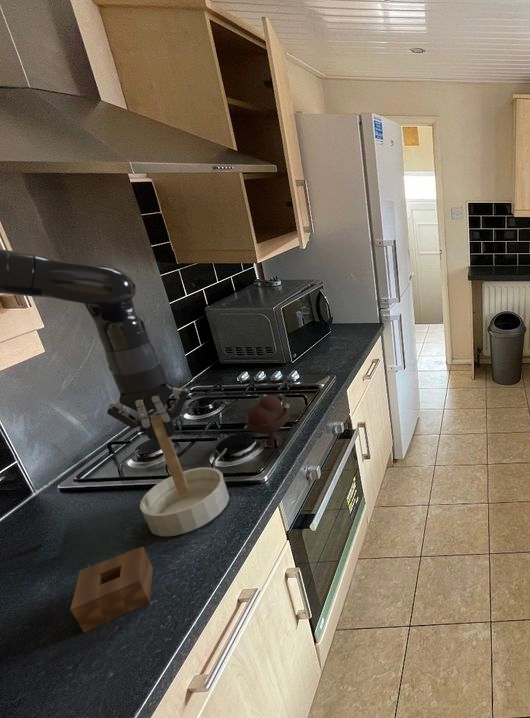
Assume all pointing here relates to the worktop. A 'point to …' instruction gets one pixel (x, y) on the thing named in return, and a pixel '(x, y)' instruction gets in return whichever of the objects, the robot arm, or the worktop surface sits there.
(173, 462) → the stick
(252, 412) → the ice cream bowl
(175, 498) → the mixing bowl
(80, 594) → the stick holder
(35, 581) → the worktop surface
